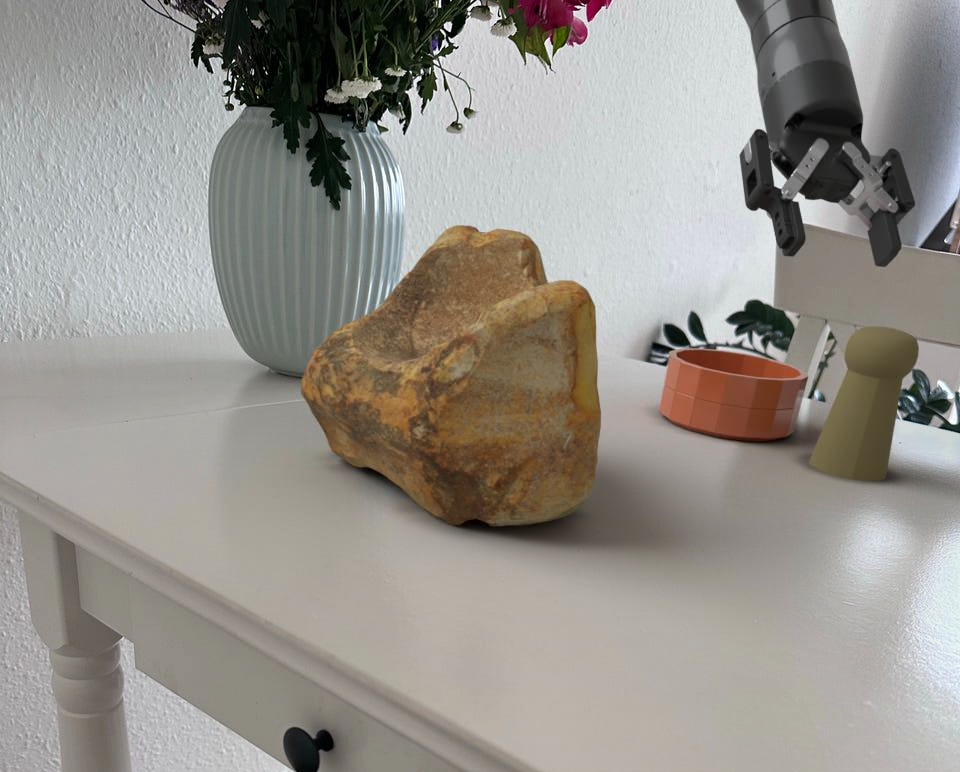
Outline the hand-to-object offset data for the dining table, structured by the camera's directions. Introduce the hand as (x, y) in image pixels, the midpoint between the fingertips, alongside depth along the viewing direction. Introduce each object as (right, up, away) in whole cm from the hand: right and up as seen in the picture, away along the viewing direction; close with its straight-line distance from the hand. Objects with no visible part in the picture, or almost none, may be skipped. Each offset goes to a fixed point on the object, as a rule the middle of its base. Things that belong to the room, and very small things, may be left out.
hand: (842, 255), depth 77 cm
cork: (0, -17, 0) cm, 18 cm away
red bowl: (-7, -12, +9) cm, 16 cm away
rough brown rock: (-32, -21, -14) cm, 41 cm away
